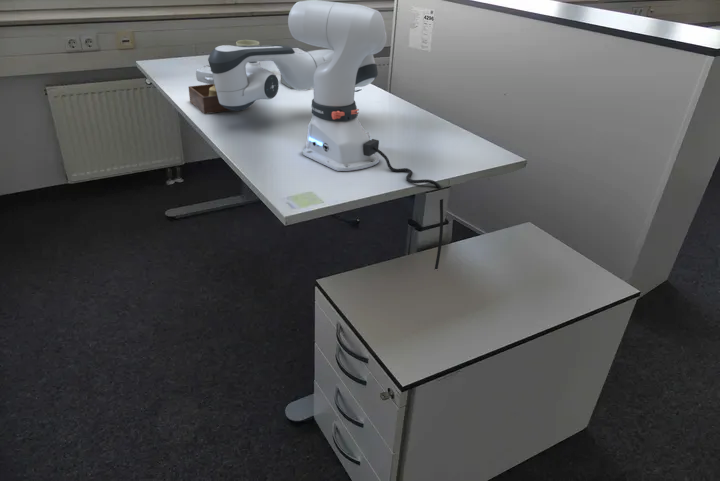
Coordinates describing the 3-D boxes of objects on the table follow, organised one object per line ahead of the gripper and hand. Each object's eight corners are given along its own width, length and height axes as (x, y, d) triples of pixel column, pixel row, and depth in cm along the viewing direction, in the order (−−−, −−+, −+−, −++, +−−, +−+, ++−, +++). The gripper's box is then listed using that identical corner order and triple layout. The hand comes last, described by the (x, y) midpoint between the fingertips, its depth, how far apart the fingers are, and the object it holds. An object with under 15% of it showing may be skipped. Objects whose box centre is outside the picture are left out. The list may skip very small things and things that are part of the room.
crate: (244, 108, 187) (243, 92, 184) (204, 113, 180) (203, 97, 178) (228, 97, 197) (227, 82, 194) (190, 102, 190) (188, 86, 187)
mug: (238, 69, 230) (236, 39, 224) (262, 70, 230) (261, 40, 224) (232, 76, 221) (230, 44, 215) (257, 77, 221) (255, 46, 214)
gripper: (212, 91, 170) (186, 81, 177) (264, 80, 183) (238, 71, 191) (210, 70, 167) (183, 61, 174) (263, 60, 180) (236, 52, 188)
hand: (212, 66), depth 183 cm, fingers open, 4 cm apart
